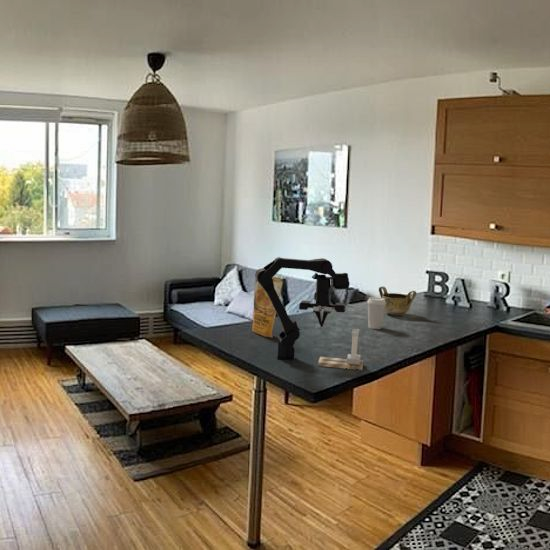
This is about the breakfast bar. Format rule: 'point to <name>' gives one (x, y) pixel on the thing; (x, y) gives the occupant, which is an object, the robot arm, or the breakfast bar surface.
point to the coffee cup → (375, 312)
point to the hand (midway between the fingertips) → (321, 326)
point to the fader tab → (354, 349)
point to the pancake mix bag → (264, 309)
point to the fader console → (338, 363)
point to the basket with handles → (396, 301)
